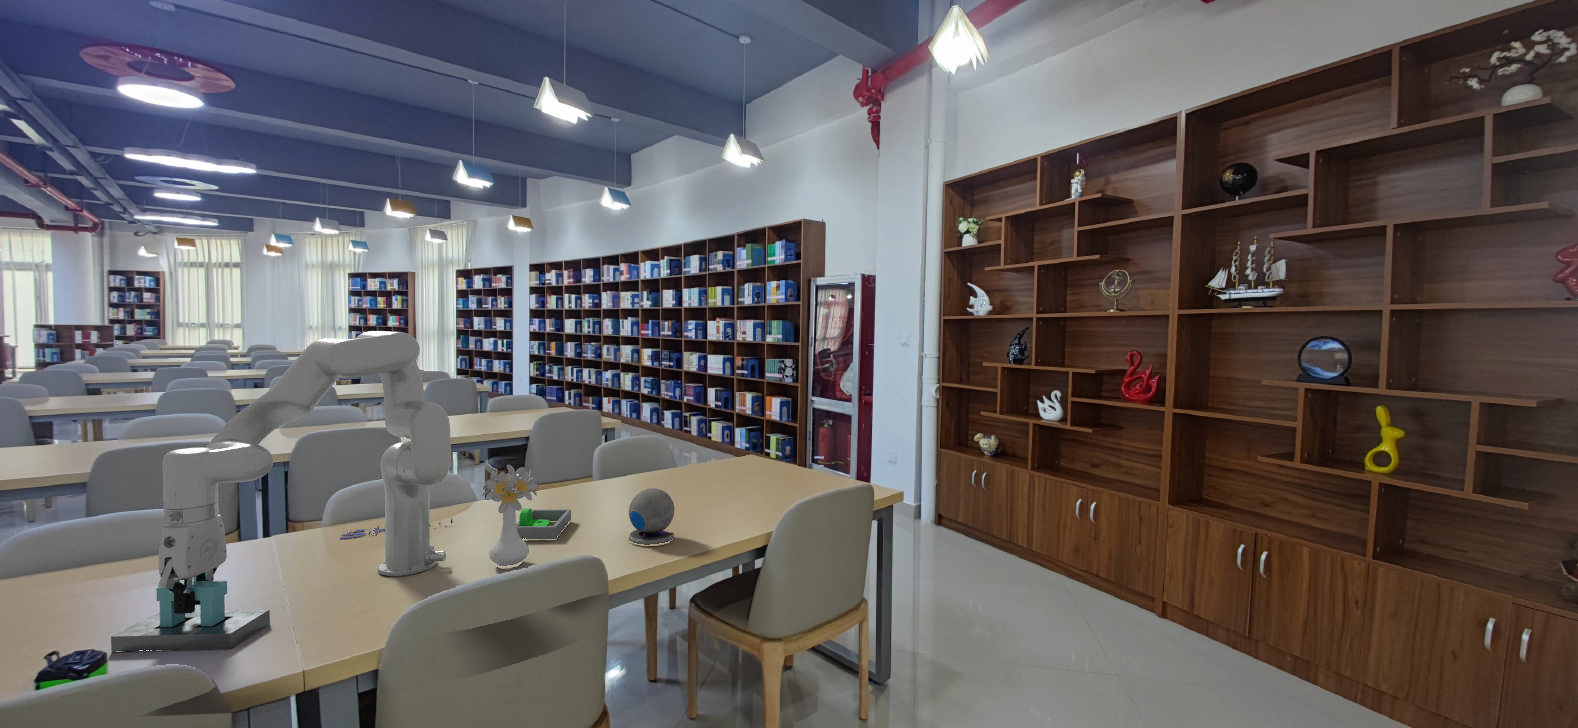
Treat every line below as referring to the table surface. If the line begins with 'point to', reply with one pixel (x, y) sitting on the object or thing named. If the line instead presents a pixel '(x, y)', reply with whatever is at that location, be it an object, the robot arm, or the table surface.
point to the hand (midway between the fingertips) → (193, 607)
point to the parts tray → (545, 531)
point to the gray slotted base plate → (191, 632)
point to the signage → (360, 533)
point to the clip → (204, 591)
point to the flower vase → (509, 513)
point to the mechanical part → (527, 519)
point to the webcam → (651, 517)
